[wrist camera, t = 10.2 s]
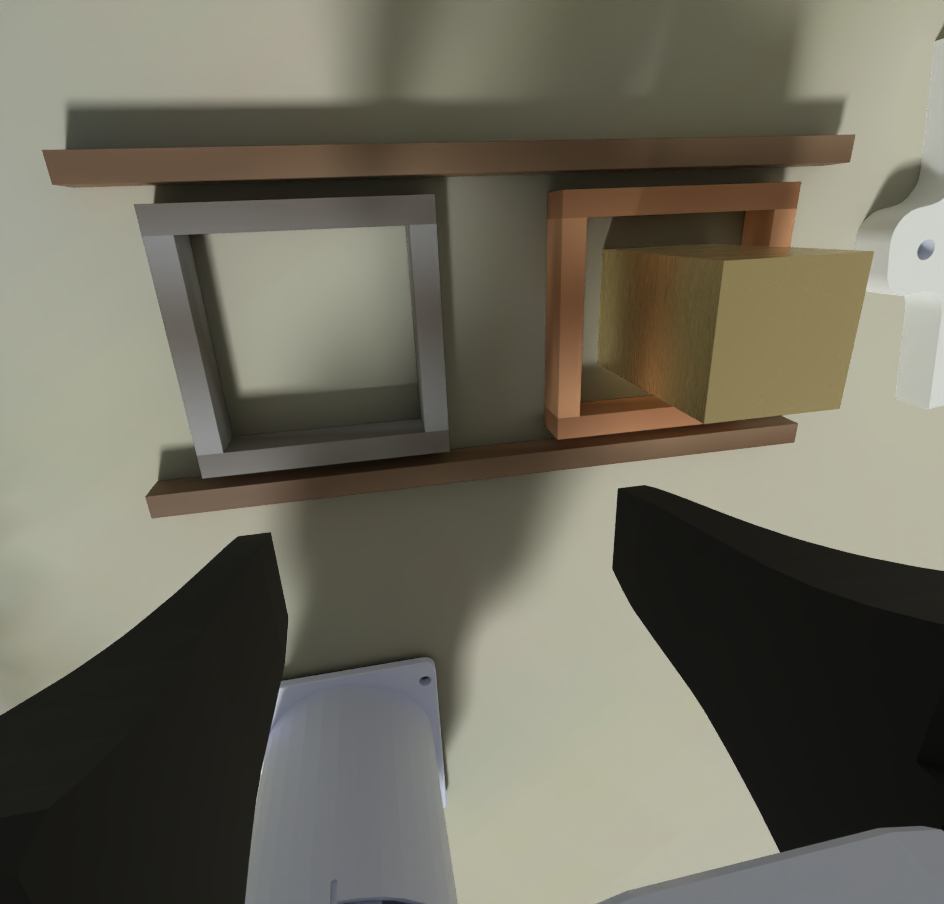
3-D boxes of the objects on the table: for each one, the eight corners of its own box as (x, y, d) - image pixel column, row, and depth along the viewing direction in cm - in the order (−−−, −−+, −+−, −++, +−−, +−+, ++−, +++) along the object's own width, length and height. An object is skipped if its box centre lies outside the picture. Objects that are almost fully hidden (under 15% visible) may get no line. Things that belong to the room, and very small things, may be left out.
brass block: (695, 354, 21) (839, 408, 15) (597, 363, 21) (703, 424, 14) (708, 243, 20) (874, 251, 13) (602, 249, 19) (724, 260, 13)
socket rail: (773, 432, 23) (799, 444, 22) (163, 502, 19) (148, 522, 18) (827, 139, 19) (863, 133, 18) (64, 155, 15) (36, 148, 14)
